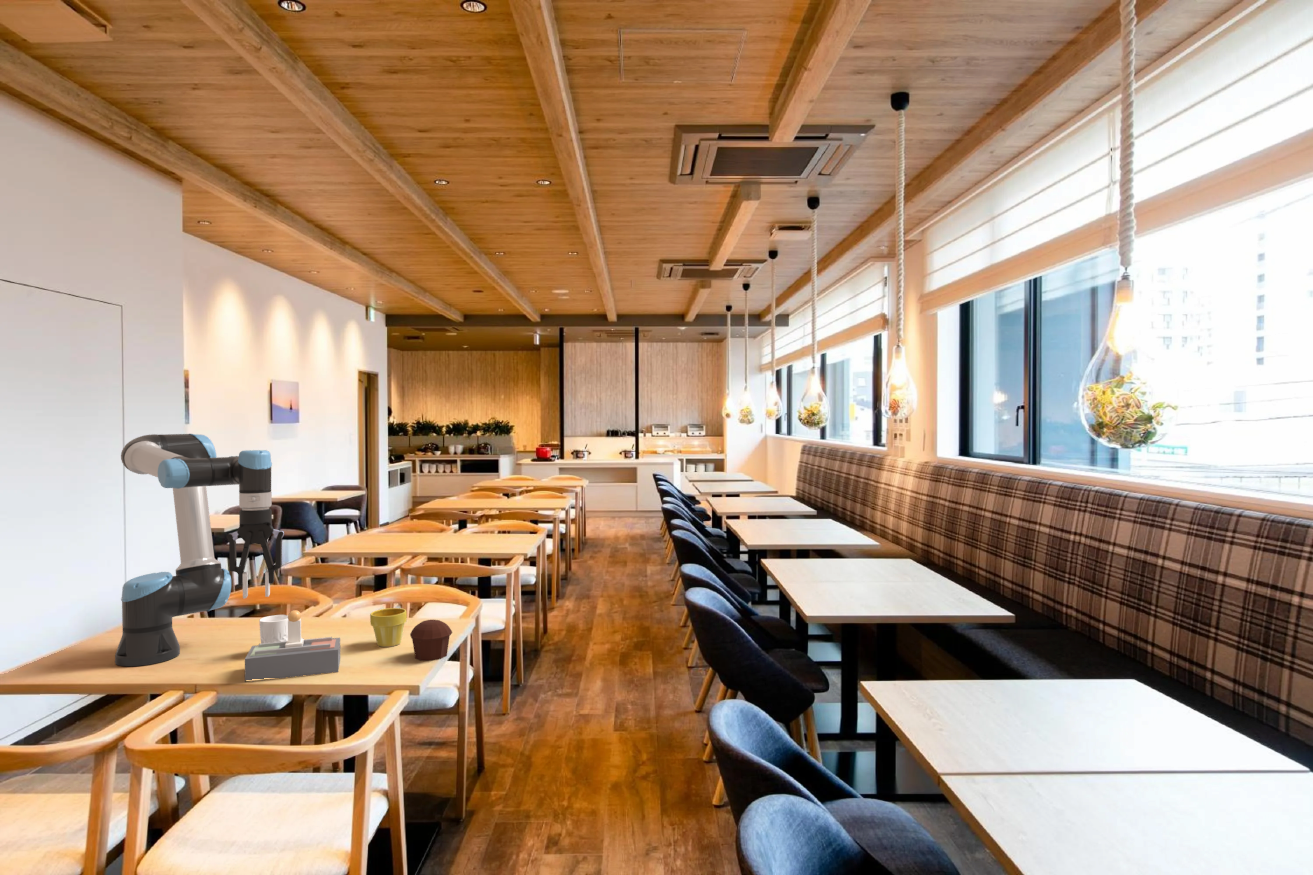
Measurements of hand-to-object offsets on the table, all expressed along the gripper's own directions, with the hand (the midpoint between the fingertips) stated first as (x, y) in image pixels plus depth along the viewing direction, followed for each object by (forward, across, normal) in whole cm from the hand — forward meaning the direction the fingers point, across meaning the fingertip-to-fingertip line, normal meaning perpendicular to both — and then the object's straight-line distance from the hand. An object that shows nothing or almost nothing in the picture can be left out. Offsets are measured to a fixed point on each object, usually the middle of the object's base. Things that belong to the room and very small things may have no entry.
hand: (256, 596), depth 195 cm
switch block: (+21, +9, 0) cm, 23 cm away
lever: (+15, +9, 0) cm, 17 cm away
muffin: (+21, +44, -1) cm, 49 cm away
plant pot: (+21, +33, +16) cm, 42 cm away
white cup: (+21, +2, +19) cm, 28 cm away
